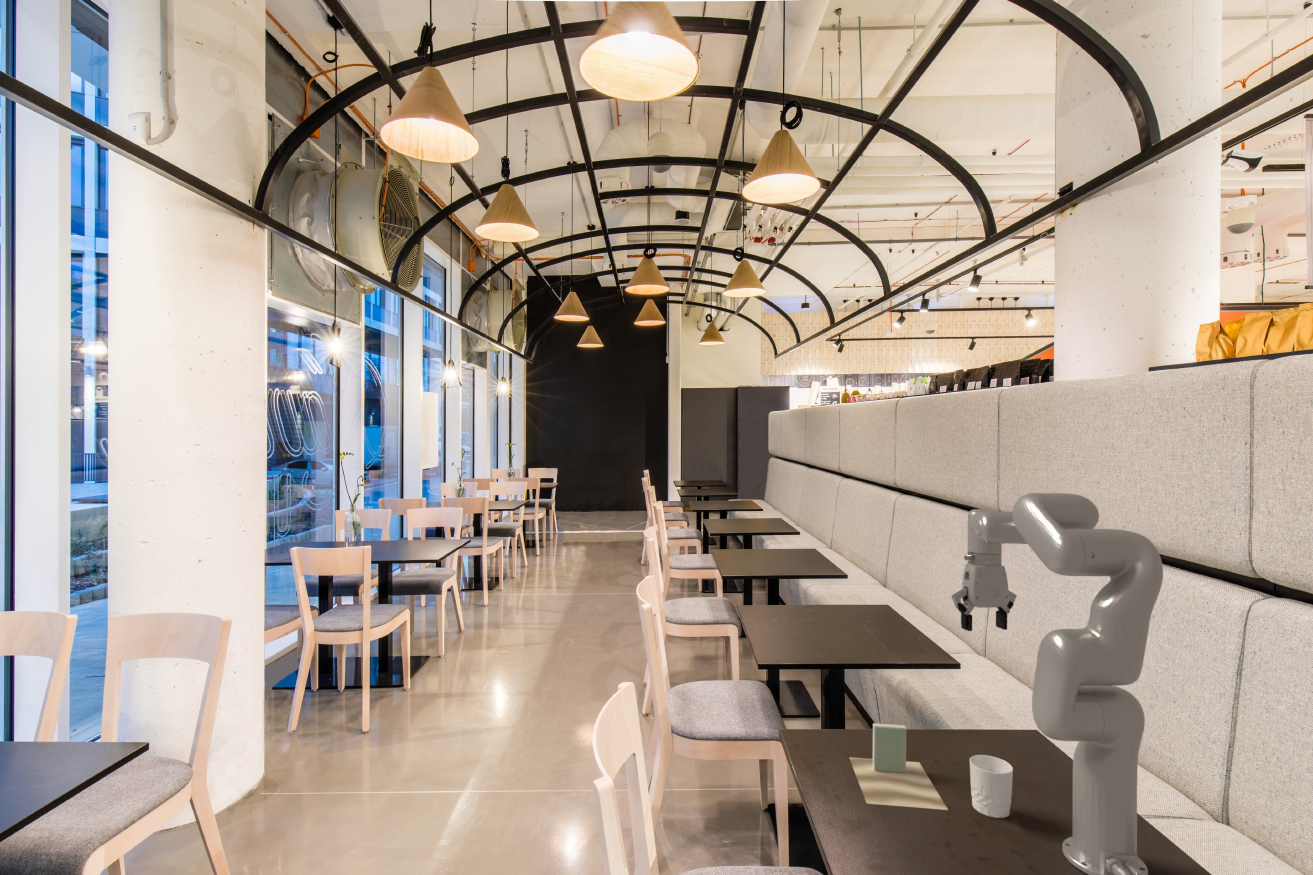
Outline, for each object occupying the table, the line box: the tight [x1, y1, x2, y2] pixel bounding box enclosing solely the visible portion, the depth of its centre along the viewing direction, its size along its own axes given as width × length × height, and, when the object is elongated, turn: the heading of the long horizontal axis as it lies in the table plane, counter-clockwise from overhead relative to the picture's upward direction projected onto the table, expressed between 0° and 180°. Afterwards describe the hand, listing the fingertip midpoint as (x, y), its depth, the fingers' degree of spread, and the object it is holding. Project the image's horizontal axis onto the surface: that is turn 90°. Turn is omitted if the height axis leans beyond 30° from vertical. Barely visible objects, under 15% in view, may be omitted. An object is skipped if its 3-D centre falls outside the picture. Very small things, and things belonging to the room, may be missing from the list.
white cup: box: [969, 754, 1014, 819], centre depth 130 cm, size 8×8×10 cm
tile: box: [872, 723, 907, 773], centre depth 145 cm, size 2×7×10 cm, turn 83°
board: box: [849, 756, 949, 811], centre depth 140 cm, size 20×16×1 cm
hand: (984, 628), depth 158 cm, fingers open, 9 cm apart
